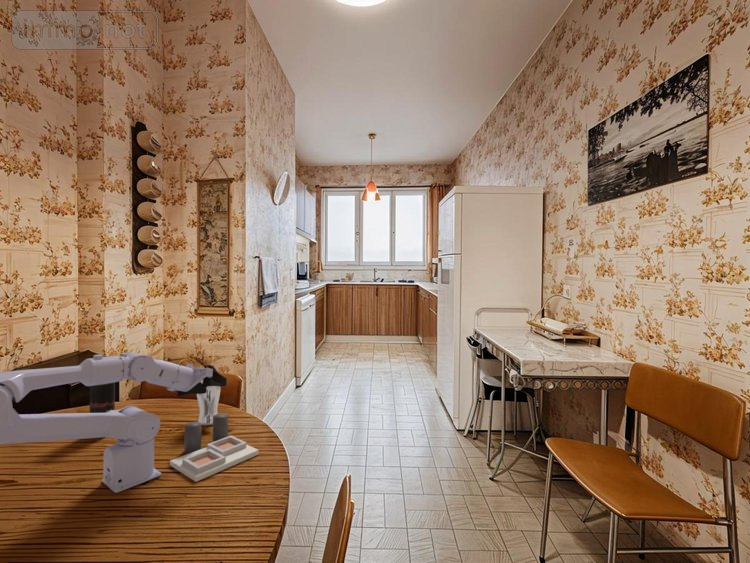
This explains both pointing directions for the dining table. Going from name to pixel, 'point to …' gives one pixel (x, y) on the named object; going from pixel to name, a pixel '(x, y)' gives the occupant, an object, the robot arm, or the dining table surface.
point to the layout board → (214, 458)
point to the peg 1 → (192, 437)
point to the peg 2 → (220, 426)
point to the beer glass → (208, 404)
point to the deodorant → (102, 398)
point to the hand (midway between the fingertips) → (215, 386)
